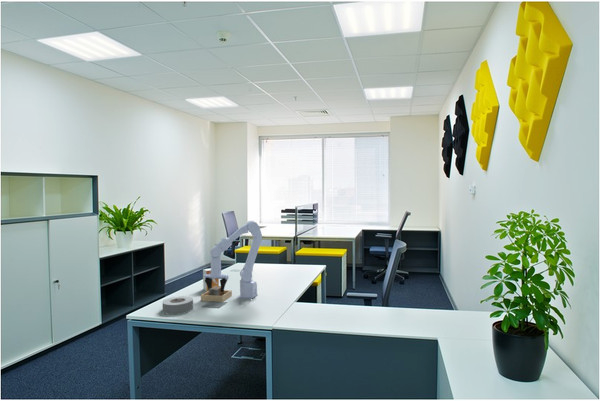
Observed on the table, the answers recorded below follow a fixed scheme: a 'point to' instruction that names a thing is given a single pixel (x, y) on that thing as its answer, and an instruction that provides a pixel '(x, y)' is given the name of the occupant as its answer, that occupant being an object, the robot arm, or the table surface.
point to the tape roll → (177, 305)
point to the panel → (214, 304)
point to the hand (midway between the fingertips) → (216, 291)
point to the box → (216, 291)
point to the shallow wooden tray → (216, 298)
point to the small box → (214, 281)
